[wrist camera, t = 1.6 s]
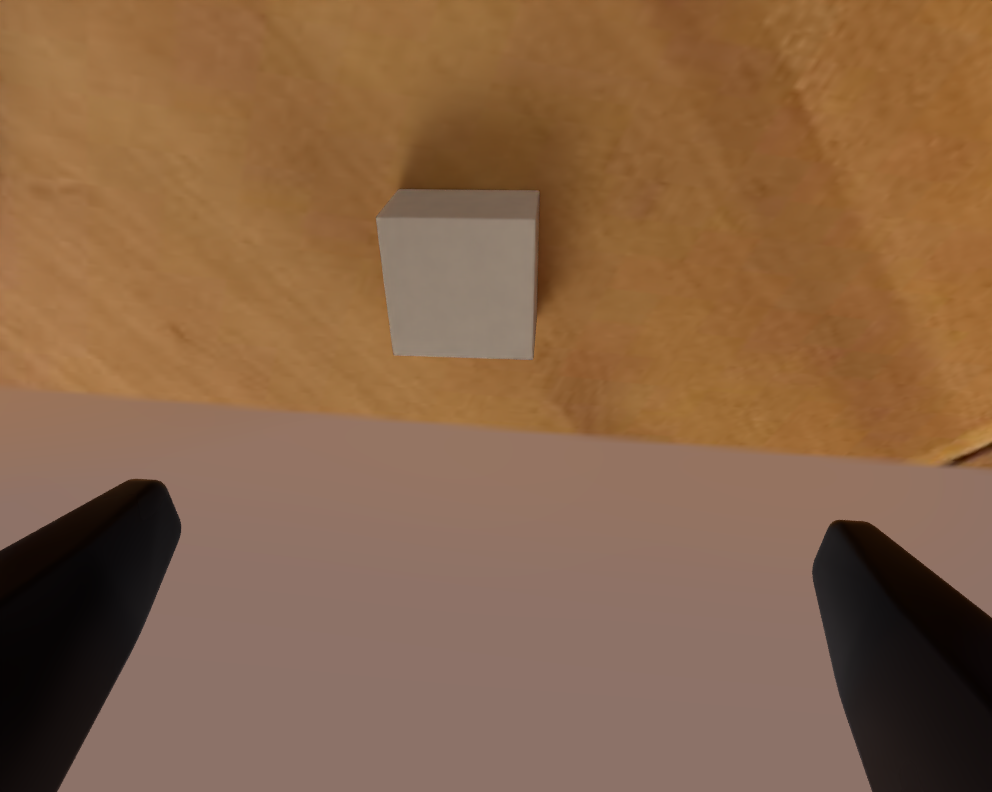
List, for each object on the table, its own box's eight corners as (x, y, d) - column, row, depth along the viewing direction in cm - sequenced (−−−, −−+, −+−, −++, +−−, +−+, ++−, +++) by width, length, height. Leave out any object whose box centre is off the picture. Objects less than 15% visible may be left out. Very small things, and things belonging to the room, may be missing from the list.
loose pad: (536, 319, 19) (533, 360, 17) (410, 316, 19) (392, 355, 17) (539, 190, 17) (536, 218, 15) (397, 188, 17) (375, 216, 15)
